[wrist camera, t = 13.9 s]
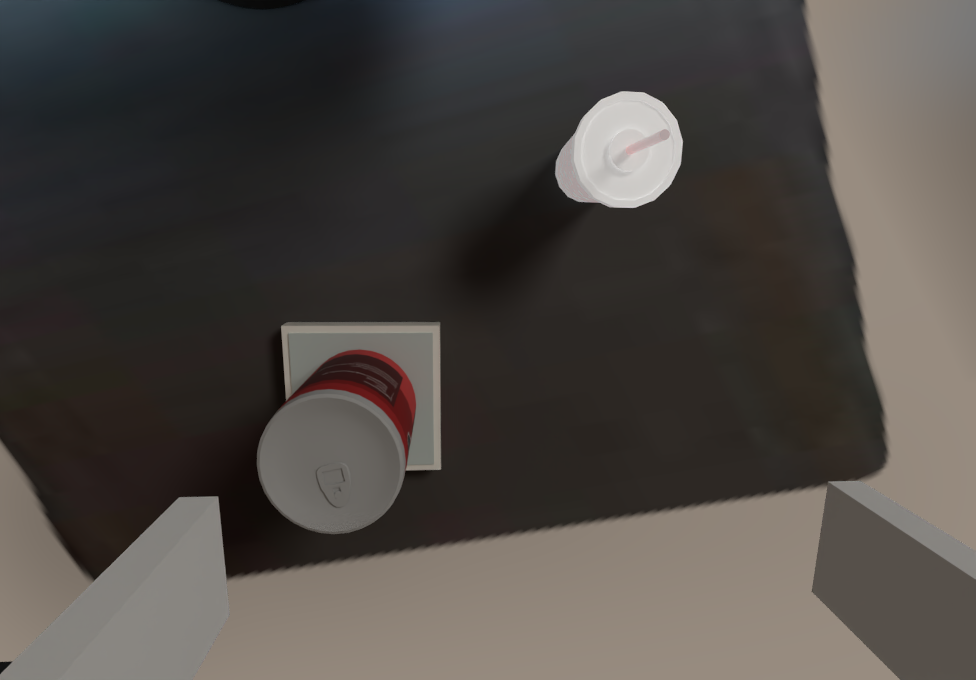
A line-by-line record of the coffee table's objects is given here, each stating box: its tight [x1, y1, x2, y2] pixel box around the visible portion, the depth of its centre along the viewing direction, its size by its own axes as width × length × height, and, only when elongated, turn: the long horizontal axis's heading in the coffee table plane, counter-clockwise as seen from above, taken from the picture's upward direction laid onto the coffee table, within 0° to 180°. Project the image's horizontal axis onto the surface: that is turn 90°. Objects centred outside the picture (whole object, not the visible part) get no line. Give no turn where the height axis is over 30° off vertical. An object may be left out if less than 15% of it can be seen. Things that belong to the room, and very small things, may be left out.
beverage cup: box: [555, 91, 683, 208], centre depth 31 cm, size 6×6×14 cm
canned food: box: [257, 349, 416, 534], centre depth 33 cm, size 8×8×11 cm
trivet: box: [281, 322, 441, 470], centre depth 39 cm, size 11×11×2 cm
